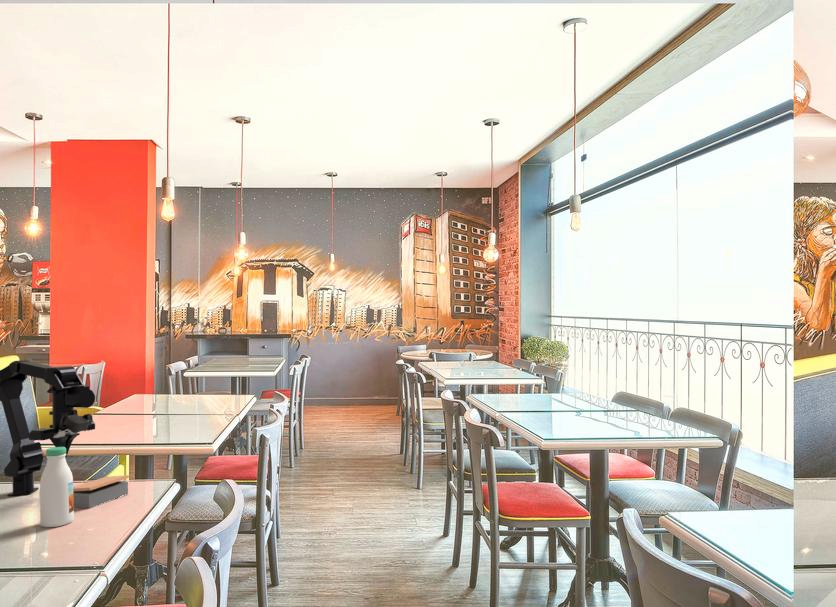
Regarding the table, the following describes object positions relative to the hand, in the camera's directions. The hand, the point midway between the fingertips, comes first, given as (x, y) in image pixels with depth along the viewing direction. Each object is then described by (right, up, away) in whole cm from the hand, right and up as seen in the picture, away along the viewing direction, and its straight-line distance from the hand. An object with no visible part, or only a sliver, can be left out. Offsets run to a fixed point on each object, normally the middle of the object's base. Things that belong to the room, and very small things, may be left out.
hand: (64, 457), depth 187 cm
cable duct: (+13, -12, -5) cm, 18 cm away
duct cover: (+13, -7, -5) cm, 16 cm away
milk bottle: (+13, -11, -25) cm, 31 cm away
